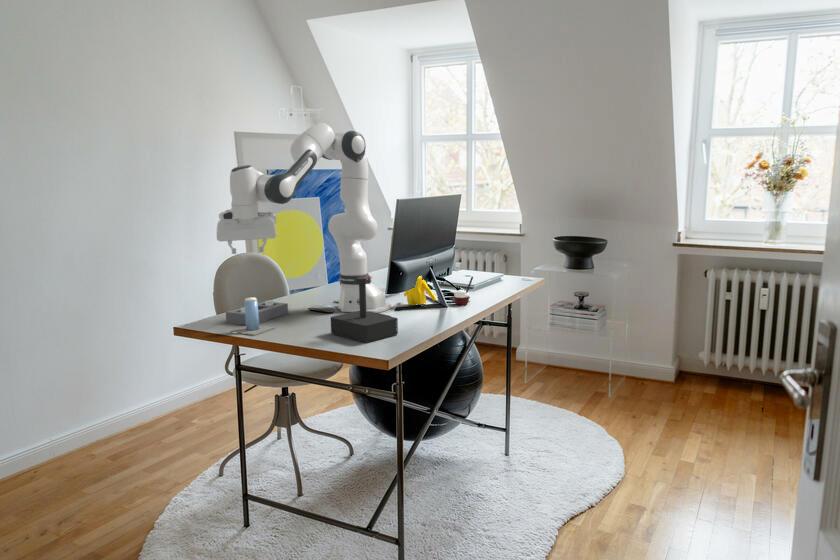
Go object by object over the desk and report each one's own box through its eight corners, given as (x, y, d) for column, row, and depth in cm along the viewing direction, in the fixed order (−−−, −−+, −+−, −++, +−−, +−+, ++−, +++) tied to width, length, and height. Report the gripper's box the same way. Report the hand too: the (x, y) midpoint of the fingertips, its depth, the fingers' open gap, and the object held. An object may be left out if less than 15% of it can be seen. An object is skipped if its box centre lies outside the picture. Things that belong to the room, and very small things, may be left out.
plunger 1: (251, 318, 241) (251, 307, 240) (246, 320, 238) (245, 309, 237) (245, 318, 242) (244, 306, 242) (239, 319, 240) (238, 308, 239)
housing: (264, 310, 259) (264, 301, 258) (288, 313, 254) (287, 303, 253) (226, 322, 240) (225, 312, 239) (251, 325, 234) (250, 314, 234)
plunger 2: (275, 311, 253) (274, 300, 253) (270, 313, 251) (269, 302, 250) (269, 310, 255) (268, 300, 254) (263, 312, 252) (263, 301, 251)
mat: (274, 328, 229) (274, 327, 229) (254, 335, 219) (254, 334, 219) (251, 325, 234) (251, 324, 234) (230, 332, 224) (230, 331, 224)
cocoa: (449, 305, 266) (447, 277, 264) (458, 302, 271) (456, 275, 269) (467, 307, 260) (465, 278, 258) (476, 304, 264) (474, 276, 262)
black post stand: (402, 334, 219) (401, 277, 215) (365, 344, 207) (363, 284, 204) (366, 325, 232) (364, 272, 229) (329, 334, 220) (327, 278, 217)
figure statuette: (439, 306, 263) (439, 253, 259) (427, 309, 257) (427, 255, 254) (407, 301, 274) (406, 250, 271) (395, 304, 268) (394, 252, 265)
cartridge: (258, 327, 229) (256, 296, 227) (260, 329, 225) (257, 299, 223) (245, 328, 228) (243, 297, 226) (246, 331, 224) (244, 300, 222)
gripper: (274, 211, 225) (277, 249, 228) (214, 213, 219) (217, 253, 221) (276, 212, 219) (279, 251, 222) (214, 215, 213) (218, 255, 216)
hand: (248, 252), depth 222 cm, fingers open, 8 cm apart
